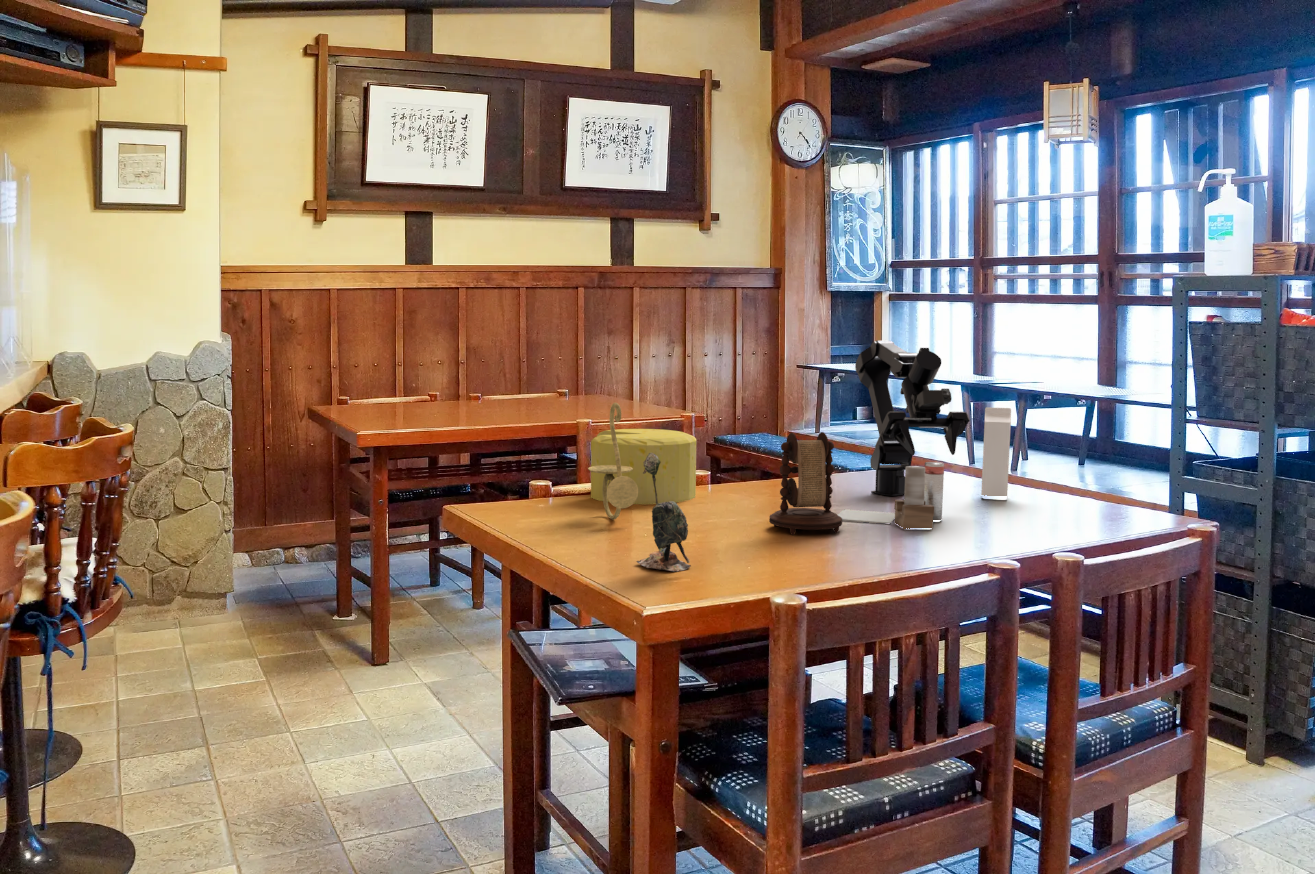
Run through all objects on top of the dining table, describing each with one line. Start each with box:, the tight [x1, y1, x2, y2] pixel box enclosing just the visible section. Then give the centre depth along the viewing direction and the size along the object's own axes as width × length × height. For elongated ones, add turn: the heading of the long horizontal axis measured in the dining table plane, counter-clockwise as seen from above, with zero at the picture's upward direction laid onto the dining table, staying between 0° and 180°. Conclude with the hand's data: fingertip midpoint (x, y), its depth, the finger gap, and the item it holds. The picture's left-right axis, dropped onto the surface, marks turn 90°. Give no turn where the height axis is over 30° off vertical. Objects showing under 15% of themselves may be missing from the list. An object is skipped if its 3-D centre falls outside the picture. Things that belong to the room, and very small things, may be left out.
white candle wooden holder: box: [894, 465, 934, 530], centre depth 228 cm, size 8×6×12 cm
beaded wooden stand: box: [768, 432, 843, 536], centre depth 224 cm, size 15×15×20 cm
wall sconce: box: [587, 402, 638, 521], centre depth 232 cm, size 14×10×25 cm
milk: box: [980, 406, 1012, 497], centre depth 265 cm, size 6×6×22 cm
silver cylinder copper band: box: [923, 461, 945, 520], centre depth 235 cm, size 4×4×12 cm
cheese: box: [590, 428, 697, 505], centre depth 264 cm, size 26×26×15 cm
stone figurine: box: [636, 453, 692, 573], centre depth 188 cm, size 8×11×20 cm
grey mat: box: [837, 508, 895, 524], centre depth 239 cm, size 12×12×1 cm
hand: (933, 453), depth 242 cm, fingers open, 9 cm apart
